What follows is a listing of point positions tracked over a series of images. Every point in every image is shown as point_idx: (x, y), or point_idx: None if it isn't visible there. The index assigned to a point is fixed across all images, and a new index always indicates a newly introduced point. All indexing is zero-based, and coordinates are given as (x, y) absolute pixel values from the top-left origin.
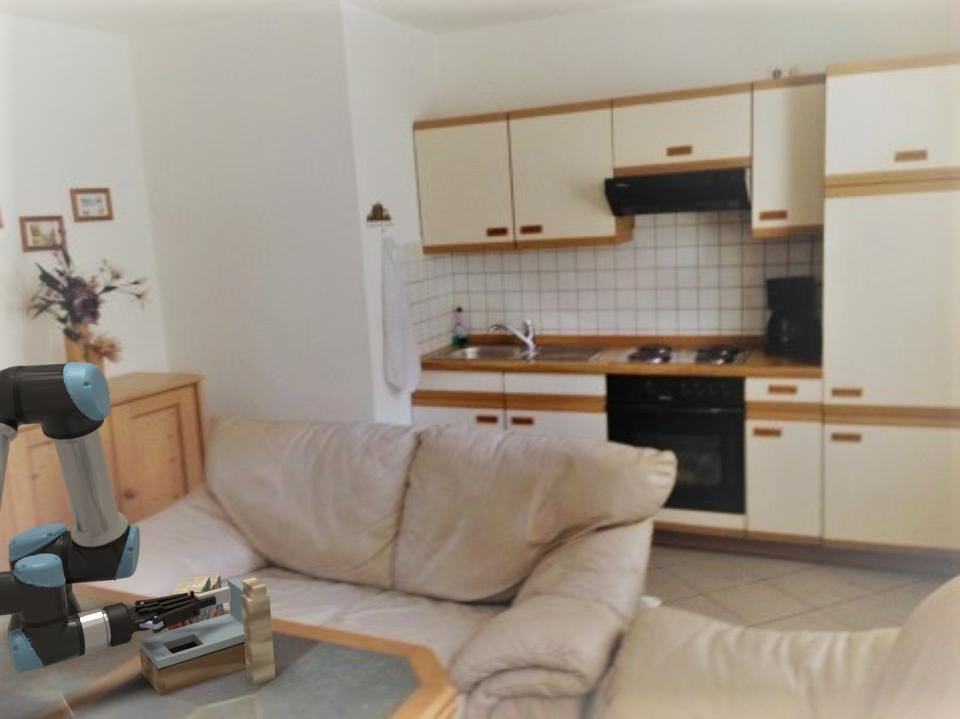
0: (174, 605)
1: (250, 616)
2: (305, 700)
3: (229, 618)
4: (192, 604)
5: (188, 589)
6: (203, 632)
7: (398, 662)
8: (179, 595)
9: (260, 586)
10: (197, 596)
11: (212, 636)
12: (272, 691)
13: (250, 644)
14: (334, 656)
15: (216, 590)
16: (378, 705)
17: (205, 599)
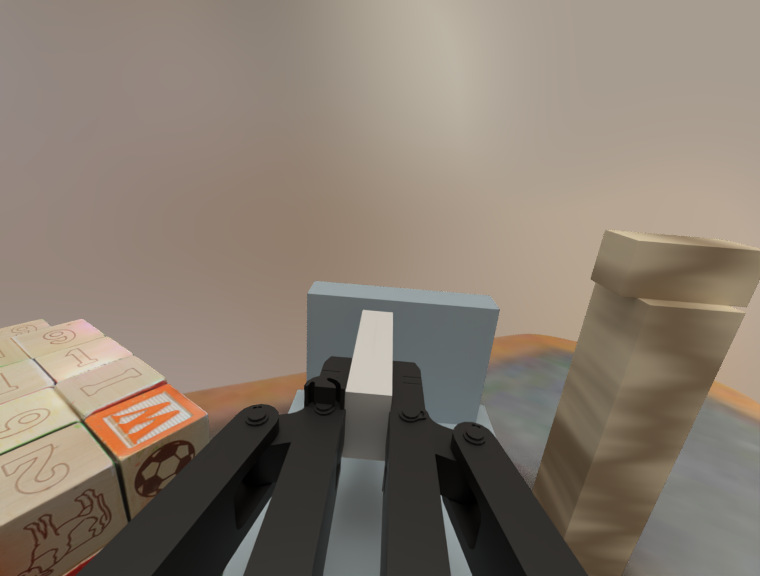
0: (430, 563)
1: (716, 371)
2: (719, 512)
3: None
4: (494, 456)
5: (72, 392)
6: (380, 542)
7: (569, 359)
8: (241, 447)
9: (737, 243)
10: (382, 395)
11: (454, 532)
12: (649, 549)
13: (651, 468)
14: (501, 392)
15: (375, 335)
16: (746, 432)
17: (410, 391)
